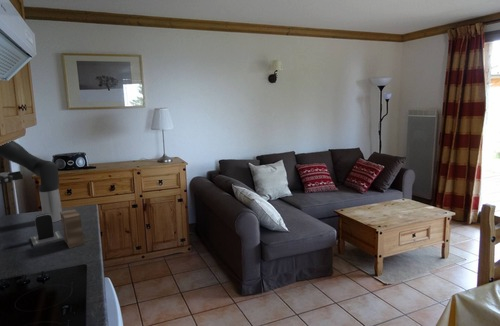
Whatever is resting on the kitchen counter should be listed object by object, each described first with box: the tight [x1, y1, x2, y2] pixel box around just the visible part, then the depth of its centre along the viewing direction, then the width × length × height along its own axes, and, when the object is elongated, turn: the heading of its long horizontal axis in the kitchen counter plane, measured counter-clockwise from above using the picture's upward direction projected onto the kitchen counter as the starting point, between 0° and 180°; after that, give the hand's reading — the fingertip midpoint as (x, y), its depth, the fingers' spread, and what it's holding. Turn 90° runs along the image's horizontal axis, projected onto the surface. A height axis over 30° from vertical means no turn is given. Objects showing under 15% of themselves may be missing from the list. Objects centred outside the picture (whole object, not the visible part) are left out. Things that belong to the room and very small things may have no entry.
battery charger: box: [34, 213, 54, 240], centre depth 163 cm, size 7×4×11 cm, turn 125°
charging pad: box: [30, 230, 64, 248], centre depth 164 cm, size 12×12×1 cm
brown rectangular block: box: [60, 208, 85, 249], centre depth 158 cm, size 12×6×14 cm, turn 38°
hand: (21, 174), depth 161 cm, fingers open, 8 cm apart
